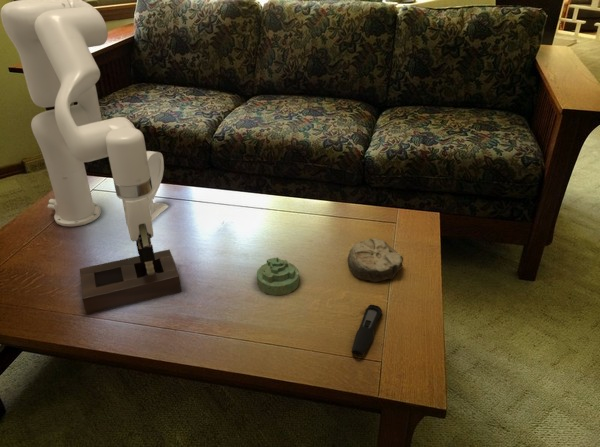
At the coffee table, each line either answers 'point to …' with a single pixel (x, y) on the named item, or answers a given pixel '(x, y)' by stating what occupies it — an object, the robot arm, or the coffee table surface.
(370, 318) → the electric trimmer
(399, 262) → the stone
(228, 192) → the coffee table surface
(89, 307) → the frame
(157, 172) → the heart sculpture
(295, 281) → the decorative artifact
